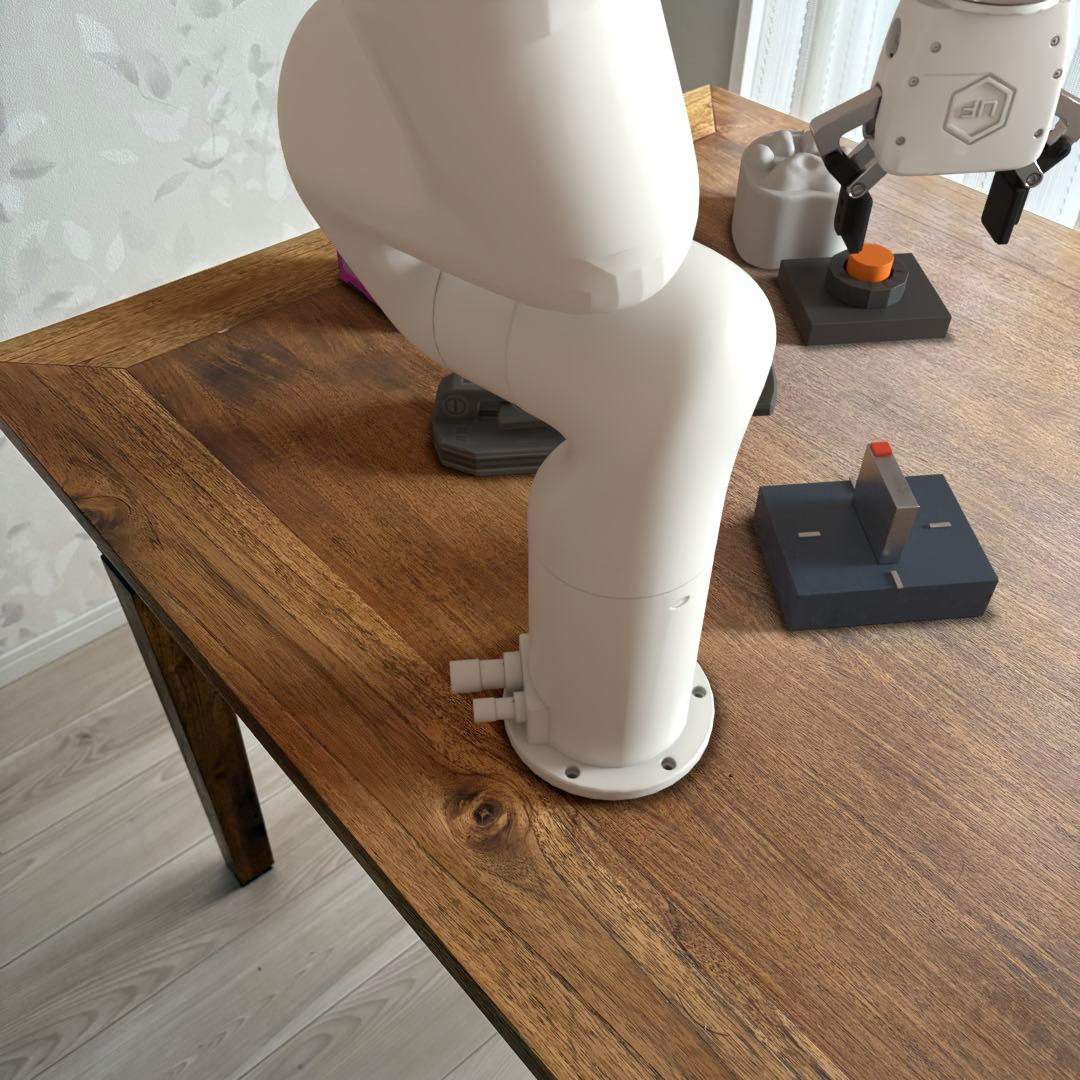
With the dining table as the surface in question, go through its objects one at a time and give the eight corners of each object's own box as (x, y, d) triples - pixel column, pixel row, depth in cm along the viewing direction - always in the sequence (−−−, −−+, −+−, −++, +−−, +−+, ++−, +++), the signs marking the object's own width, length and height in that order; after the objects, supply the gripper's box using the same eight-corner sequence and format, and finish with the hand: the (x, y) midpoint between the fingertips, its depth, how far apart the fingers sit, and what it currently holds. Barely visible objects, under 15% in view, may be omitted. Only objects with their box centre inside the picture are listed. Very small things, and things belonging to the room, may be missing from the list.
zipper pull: (785, 411, 76) (423, 404, 77) (770, 481, 81) (429, 475, 81) (769, 334, 83) (434, 328, 83) (756, 404, 87) (439, 398, 88)
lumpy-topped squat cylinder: (737, 268, 101) (751, 180, 95) (726, 197, 110) (737, 112, 104) (852, 271, 101) (873, 182, 95) (831, 199, 110) (849, 114, 104)
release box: (806, 346, 93) (815, 306, 90) (776, 280, 100) (784, 241, 97) (945, 338, 94) (958, 298, 91) (906, 273, 101) (917, 234, 98)
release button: (853, 285, 93) (857, 267, 92) (840, 262, 95) (844, 244, 94) (895, 283, 93) (899, 265, 92) (881, 260, 96) (885, 242, 94)
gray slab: (899, 563, 71) (920, 503, 67) (878, 564, 71) (897, 505, 67) (871, 498, 75) (888, 439, 71) (850, 499, 75) (867, 440, 71)
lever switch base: (788, 632, 71) (798, 594, 69) (751, 521, 78) (759, 483, 76) (984, 617, 72) (1001, 579, 70) (929, 508, 79) (943, 470, 77)
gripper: (859, -4, 57) (805, 279, 70) (1183, -20, 58) (1073, 262, 71) (821, -57, 62) (778, 215, 75) (1120, -71, 63) (1027, 200, 76)
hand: (921, 238), depth 73 cm, fingers open, 9 cm apart
